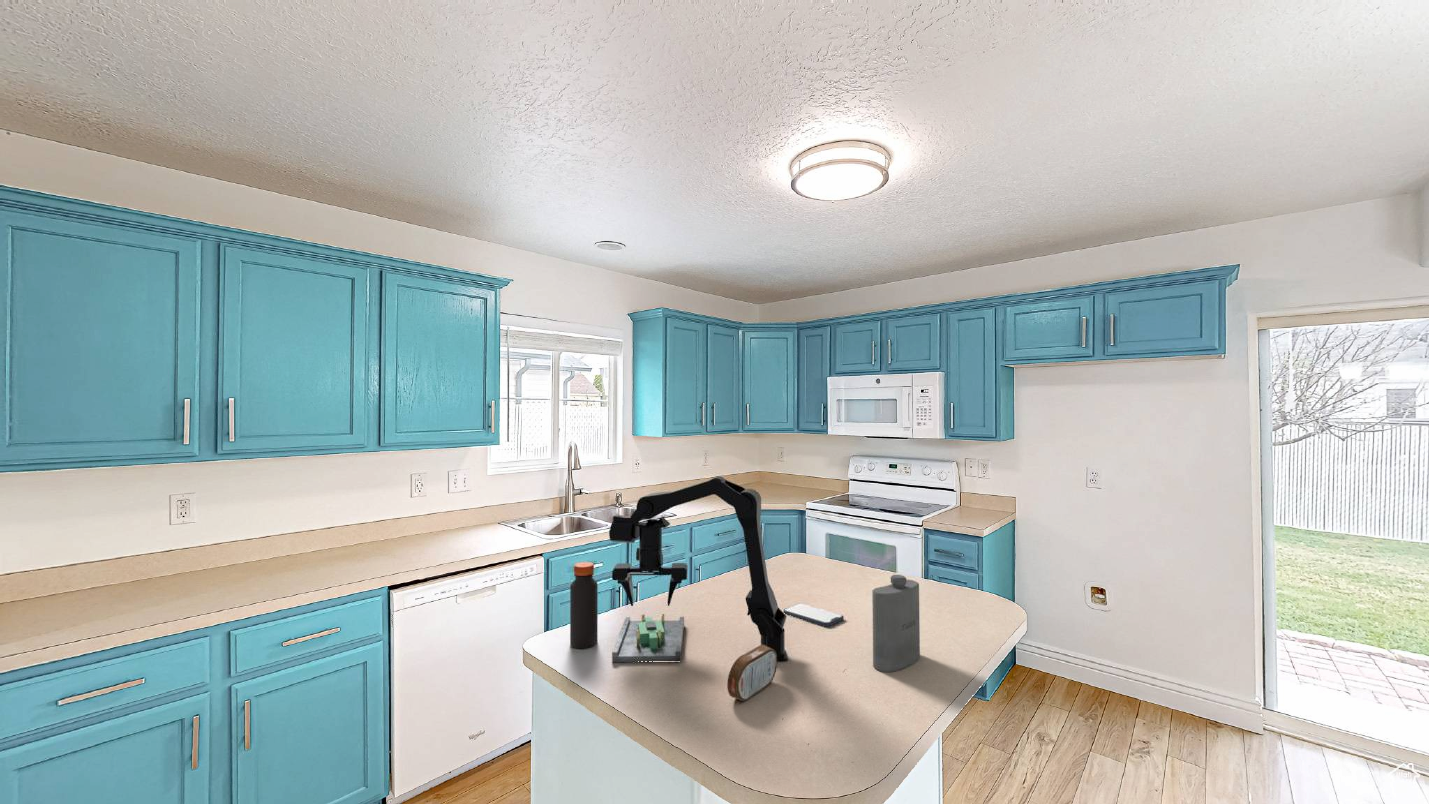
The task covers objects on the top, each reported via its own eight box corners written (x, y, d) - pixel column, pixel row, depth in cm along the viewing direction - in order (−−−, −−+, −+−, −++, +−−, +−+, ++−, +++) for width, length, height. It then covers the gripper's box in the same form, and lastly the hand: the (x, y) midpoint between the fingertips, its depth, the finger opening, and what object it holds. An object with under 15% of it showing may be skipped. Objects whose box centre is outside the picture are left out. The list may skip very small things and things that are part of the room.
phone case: (781, 615, 161) (827, 629, 149) (781, 609, 161) (827, 623, 149) (800, 607, 167) (845, 621, 155) (800, 602, 167) (845, 615, 155)
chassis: (680, 662, 129) (680, 639, 129) (612, 663, 129) (612, 639, 129) (684, 625, 151) (684, 606, 151) (625, 626, 151) (625, 606, 151)
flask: (890, 676, 122) (889, 585, 123) (868, 666, 127) (867, 579, 127) (927, 657, 132) (926, 573, 132) (905, 649, 136) (904, 567, 136)
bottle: (590, 650, 136) (590, 568, 136) (565, 648, 137) (565, 567, 138) (601, 639, 142) (601, 561, 143) (577, 637, 144) (577, 560, 144)
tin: (767, 676, 122) (767, 638, 123) (779, 680, 120) (779, 642, 121) (725, 704, 111) (725, 662, 111) (738, 709, 109) (738, 666, 109)
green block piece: (666, 647, 134) (666, 634, 134) (641, 649, 133) (641, 636, 133) (659, 625, 148) (659, 613, 148) (636, 627, 146) (636, 615, 146)
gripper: (688, 536, 149) (688, 594, 149) (618, 536, 149) (618, 595, 148) (686, 546, 138) (686, 609, 137) (611, 547, 137) (611, 610, 137)
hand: (650, 605), depth 140 cm, fingers open, 9 cm apart
